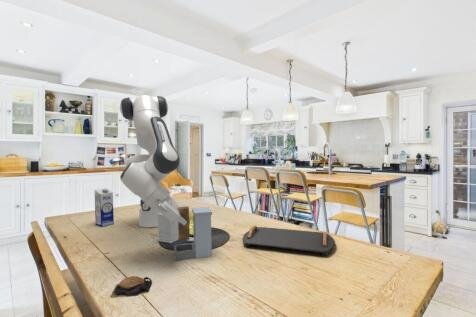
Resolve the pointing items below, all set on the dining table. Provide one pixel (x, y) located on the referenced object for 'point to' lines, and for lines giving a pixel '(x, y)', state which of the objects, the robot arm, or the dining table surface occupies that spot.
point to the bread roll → (132, 287)
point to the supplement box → (167, 229)
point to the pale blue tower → (197, 237)
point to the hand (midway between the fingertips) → (185, 221)
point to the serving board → (289, 239)
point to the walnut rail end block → (183, 229)
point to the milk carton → (104, 207)
